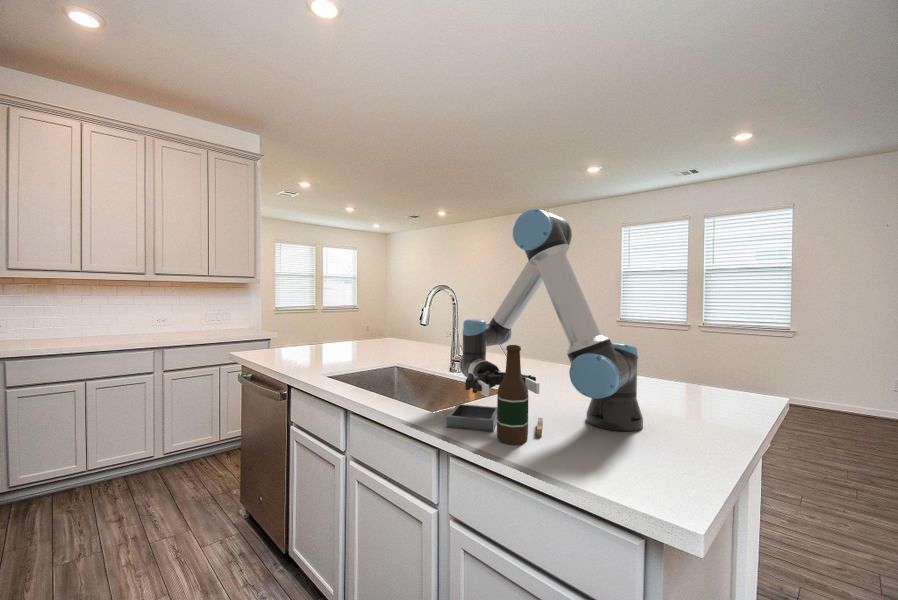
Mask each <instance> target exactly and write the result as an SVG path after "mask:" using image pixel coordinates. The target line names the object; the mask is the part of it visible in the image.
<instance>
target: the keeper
mask: <svg viewBox="0 0 898 600" xmlns="http://www.w3.org/2000/svg"><path fill="white" fill-rule="evenodd" d="M445 425H446V426H445V427H446V428H452V429H460V430H469V431H470V430H471V431H481V432H491V433H493V432H494V431H495V429H496V428H497V406H487V405H474V404H473V405H471V404H462V403H457V404H456V405H455V406H454V407H453V408H452V410H451V411H450V412H449V413H448V414H447V415H446V423H445Z"/></svg>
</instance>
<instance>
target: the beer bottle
mask: <svg viewBox="0 0 898 600" xmlns="http://www.w3.org/2000/svg"><path fill="white" fill-rule="evenodd" d="M505 350H506V360H505V361H506V362H505V363H506V364H505V377H504V378H503V380H502V381H501V383H500V385H498V388H497V397H496V398H497V401H496V403H497V404H496V405H497V406H496V407H497V425H496V437H497V439H498V440H499V441H500V443H501V444H505V445H509V446H517V445H518V446H520V445H524V444H525V443H526V442H527V441H528V436H529V390H528V389H527V386H526V384H525V382H524V380H523V379H522V376H521V374H522V371H521V370H522V369H521V367H522V366H521V351H522V347H521V346H520V345H519V344H509V345H506V348H505Z"/></svg>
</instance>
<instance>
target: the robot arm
mask: <svg viewBox="0 0 898 600" xmlns="http://www.w3.org/2000/svg"><path fill="white" fill-rule="evenodd" d="M572 231H573V230H572V228H571V226H570V224H569V222H568V221H567V220H566V219H565V218H563V217H561V216H560V215H556V214H554V213H552V212H549V211H547V210H545V209H540V208H539V209H538V208H533V209H532V208H531V209H528V210H526V211H523V213H521V214H520V215H519V216H518V217H517V219H516V220H515V223H514V225H513V228H512V238H513V241H514V243H515V244H516V246H517V247H518V248H520V249H521V250H523V251H525V255H526V257H527V260H528V261H527V263H525V265H524V267H523V268H522V270H521V272H520V273H519V275H518V277H517V278H516V280H515V281H514V283H513V285H512V286H511V287H510V290H508V293H507V294H506V296H505V298H504V299H503V301H502V302H501V304H500V306H499V307H498V309H497V310H496V312H495V314H494V315H493V317H492V318H491V320H490V321H489V323H487V321H486V320H485V319H480V318H471V319H470V318H469V319H468V318H467V319H465V320H464V321H463V327H462V357H461V358H460V360H459V363H458V365H459V366H458V367H459V368H458V369H459V370H460V372H461V373H462V374H463V376H464V377H466V379H465V384H464V385H465V387H464V390H466V391H470V390H472V393H473V394H477V393H478V392H479V393H480V394H482V395H483V396H484V397H485V398H489V397H490V389H492V388H494V387H496V386H499V385H500V383H501V381H502V380H503V378H504V377H505V372H506V371H505V372H504V371H501V370H500V368H499V367H498V366H497V365H496V364H495V363H493V362H490V361H488V360H487V359H486V357H487V347H492V346H499V345H503V344H506V343H507V342H509V341H510V340H511V338H512V333H513V332H512V329H513V327H514V326H515V324H516V323H517V321H518V320H519V318H520V317H521V316H522V314H523V312H524V310H525V309H526V308H527V306H528V304H529V303H530V301H532V299H533V298H534V295H535V294H536V293H537V291H538V290H539V288H540V287H541V285H542V283H543V284H544V286H545V290H546V291H547V293H548V296H549V298H550V301H551V303H552V306H553V308H554V310H555V314H556V316H557V317H558V319H559V323H560V326H561V328H562V330H563V332H564V335H565V337H566V340H567V343H568V345H569V347H568V349H567V353H566V354H567V358H568V360H569V363H570V367H569V371H568V372H569V373H568V374H569V379H570V382H571V384H572V386H573V388H575V390H576V391H577V392H578V393H580V394H581V395H583V396H585V397H587V398H590V402H589V405H588V408H587V409H586V417H585V418H586V422H588V423H589V424H590V425H593V426H594V427H597V428H601V429H605V430H609V431H617V432H633V431H634V432H635V431H639V430H641V429H643V427H644V417H643V414H642V411H641V408H640V405H639V401H638V399H637V398H638V396H637V395H638V393H637V390H638V359H639V355H638V348H637V347H636V345H633V344H623V343H613V342H612V341H611V339H610V338H609V337H607V336H605V335H603V334H602V333H601V331H600V328H599V326H598V325H597V322H596V320H595V317H594V316H593V313H592V310H591V308H590V306H589V304H588V301H587V299H586V296H585V294H584V292H583V290H582V288H581V285H580V282H579V281H578V279H577V276H576V274H575V272H574V269H573V267H572V265H571V262H570V259H569V258H568V256H567V253H568V251H569V248H570V245H571V242H572V238H573V237H572V236H573V235H572ZM521 376H522V379H523V380H524V382H525V384H526V386H527V389H528V391H530V392H531V393H534V394H536V395H539V394H540V383H539V382H538V381H537V377H536V376H533V375H532V374H528V375H526V374H522V373H521Z"/></svg>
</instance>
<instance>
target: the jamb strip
mask: <svg viewBox="0 0 898 600" xmlns="http://www.w3.org/2000/svg"><path fill="white" fill-rule="evenodd" d="M543 422H544V419H543V417H538V419H537V425H536V438H542V434H543Z"/></svg>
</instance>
